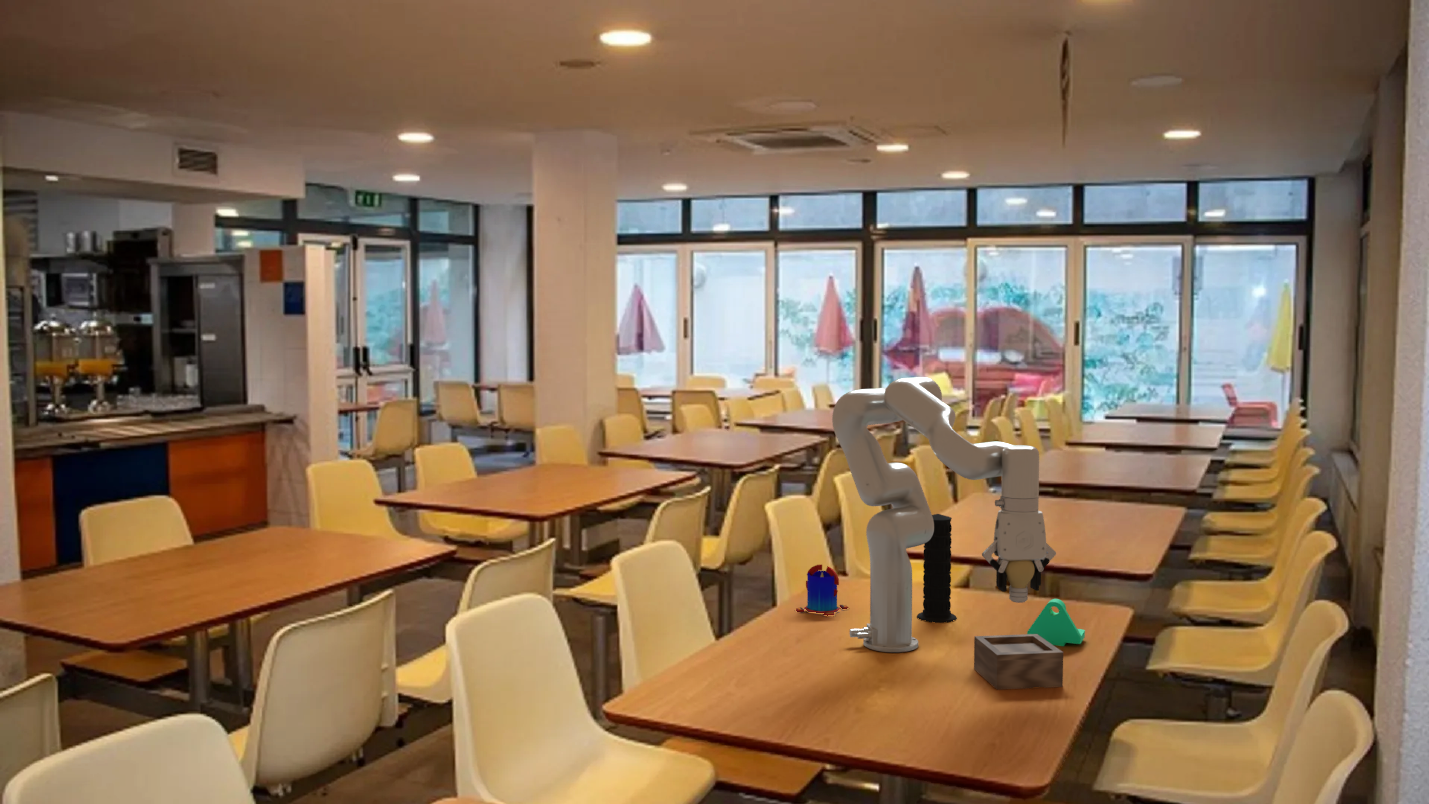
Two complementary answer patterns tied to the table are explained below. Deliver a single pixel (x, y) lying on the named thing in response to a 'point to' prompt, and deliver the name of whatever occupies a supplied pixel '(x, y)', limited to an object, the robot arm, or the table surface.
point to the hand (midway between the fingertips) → (1018, 589)
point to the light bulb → (1019, 579)
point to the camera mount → (1056, 625)
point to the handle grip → (938, 573)
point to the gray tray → (1018, 661)
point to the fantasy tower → (822, 591)
